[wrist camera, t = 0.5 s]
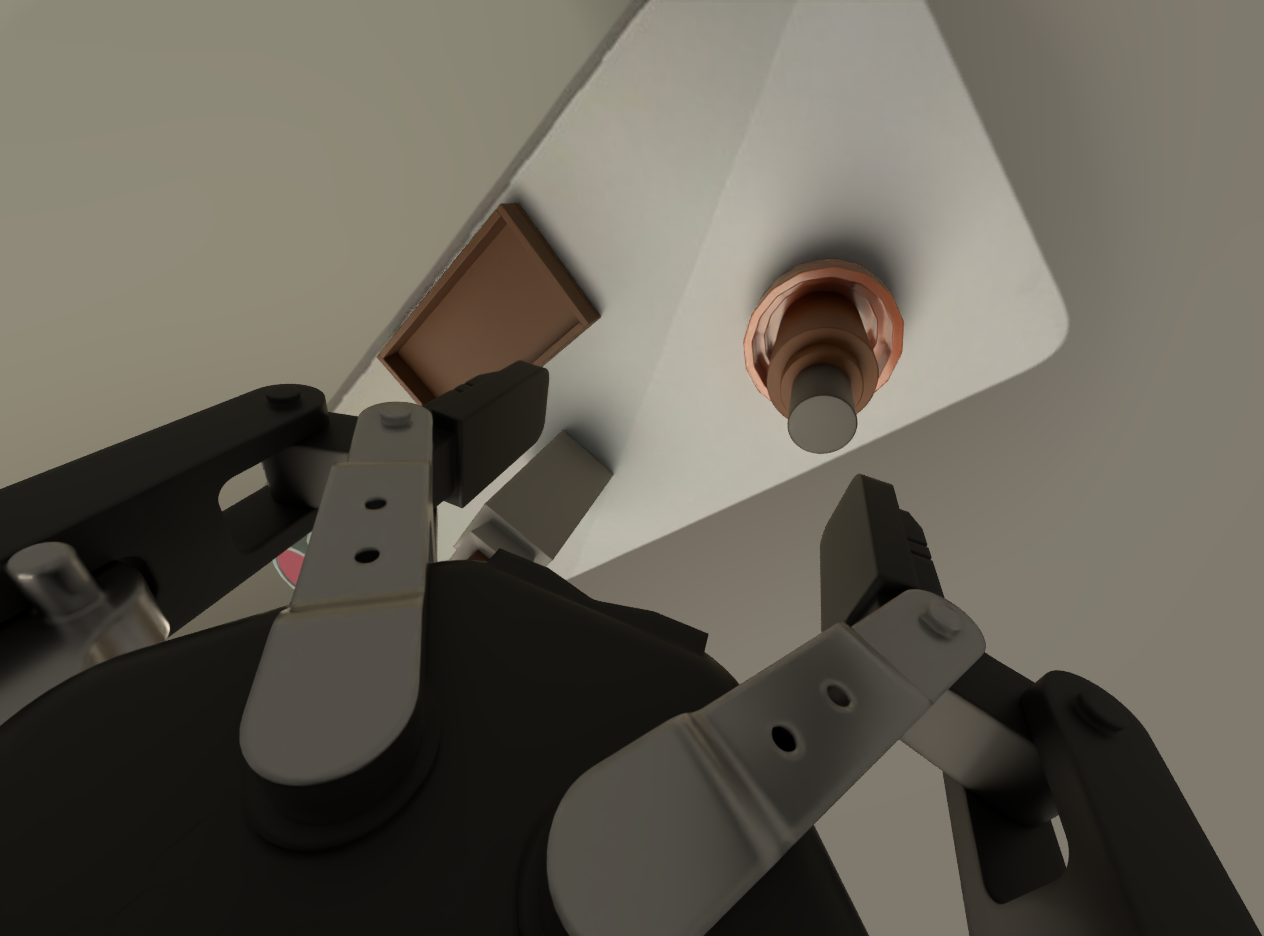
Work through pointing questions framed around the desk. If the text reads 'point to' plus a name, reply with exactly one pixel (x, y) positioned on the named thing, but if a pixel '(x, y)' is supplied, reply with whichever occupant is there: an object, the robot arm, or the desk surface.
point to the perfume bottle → (537, 505)
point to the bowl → (826, 276)
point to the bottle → (821, 371)
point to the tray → (489, 311)
